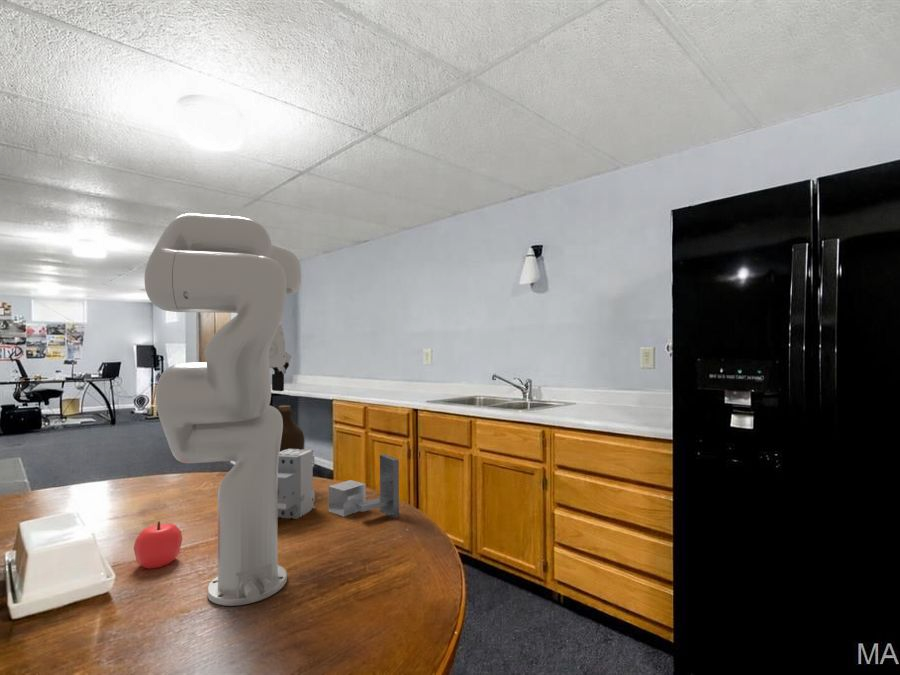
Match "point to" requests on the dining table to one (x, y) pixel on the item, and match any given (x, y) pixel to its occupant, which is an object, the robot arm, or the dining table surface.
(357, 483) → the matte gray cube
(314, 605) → the dining table surface
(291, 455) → the circuit breaker
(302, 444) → the olive oil
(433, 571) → the dining table surface
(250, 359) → the robot arm
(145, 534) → the apple
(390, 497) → the grey l-shaped bracket part
